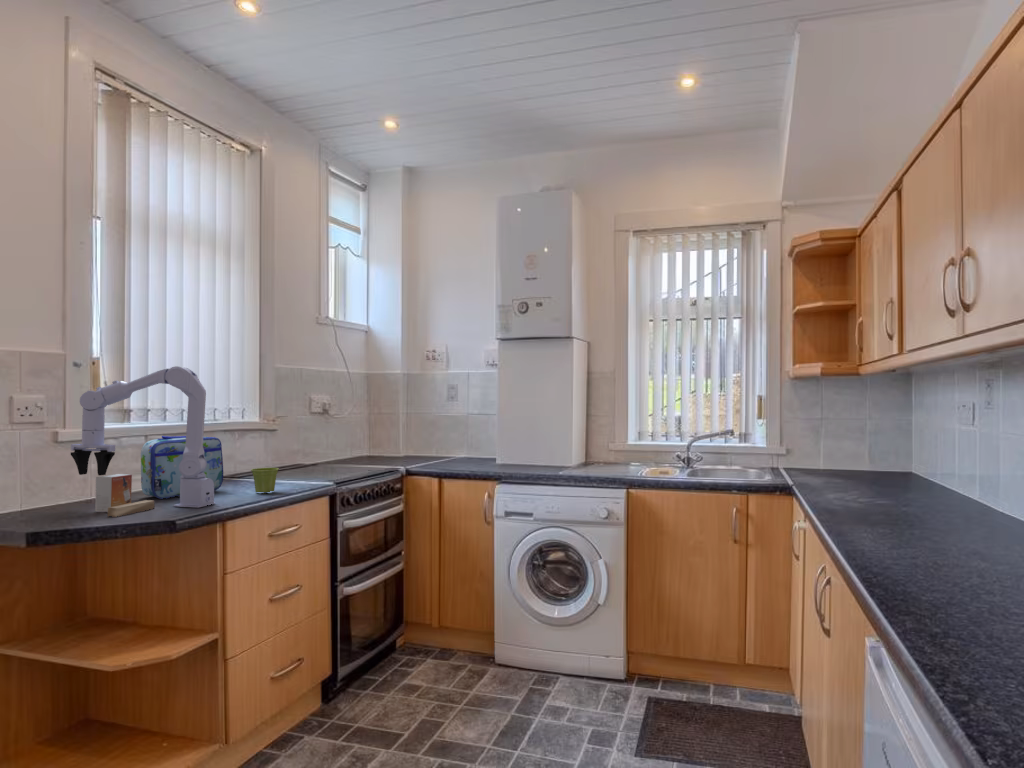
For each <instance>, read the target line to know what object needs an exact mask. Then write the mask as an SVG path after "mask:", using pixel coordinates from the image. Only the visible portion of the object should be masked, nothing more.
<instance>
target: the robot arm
mask: <svg viewBox="0 0 1024 768" xmlns="http://www.w3.org/2000/svg"><path fill="white" fill-rule="evenodd" d="M158 384H164V385H170V386H172V387H174V388H176V389H179V390H180V391H181V392H182V393H183V394H184V395H185V396H187V397H188V398H187V399H188V400H187V413H186V414H187V417H186V418H187V419H186V431H185V432H186V434H185V436H186V446H185V450H184V453H183V459H182V461H181V462H180V464H179V471H180V473H181V474H182V476H180V496H179V503H176V504H173V505H172V507H177V508H179V507H181V508H203V507H207V505H208V506H210V505H211V504H212V505H215V503H216V501H215V490H214V482H213V480H212V479H210V478H206V477H205V476H206V474H205V473H204V472H203V471H204V470H205V469H206V467H207V462H206V459H205V457H204V449H203V436H204V433H205V417H206V416H205V414H206V403H207V402H206V399H207V398H206V397H207V391H206V389H205V387H204V386H203V384H202V382H201V381H200V378H198V375H197V373H196V372H194V371H193V370H192V369H190V368H187V367H182V366H178V365H174V366H171V367H170V368H163V369H160V370H157V371H155V372H152V373H150V374H147V375H144V376H141V377H140V378H137V379H134V380H132V381H129V382H127V381H123V380H120V381H119V380H114V381H112V384H109V385H105V386H103V387H101V386H98V387H96V390H87V391H86V392H84V393H82V394H81V395H80V397H79V405H80V406H81V407H82V418H81V443H73V444H71V443H70V451H71V452H70V456H71V458H72V459H73V460H74V462H75V465H76V468H77V472H78V475H81V476H82V475H87V474H88V468H89V467H88V466H89V460H90V457H91V455H92V452H94V457H95V459H96V460H95V461H96V467H97V470H96V471H97V476H107V475H106V473H107V471H108V468H109V465H110V463H111V460H112V459H113V458H114V456H115V455H116V454H115V453H116V444H106V443H105V420H106V419H105V409H106V407H107V406H110V405H114V404H116V403H118V402H122V401H124V400H127V399H130V398H131V397H132V394H133V393H135V392H136V391H137V392H138V391H139V390H143V389H146V388H148V387H152V386H156V385H158ZM72 451H73V452H72ZM212 505H211V506H212Z"/></svg>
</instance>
